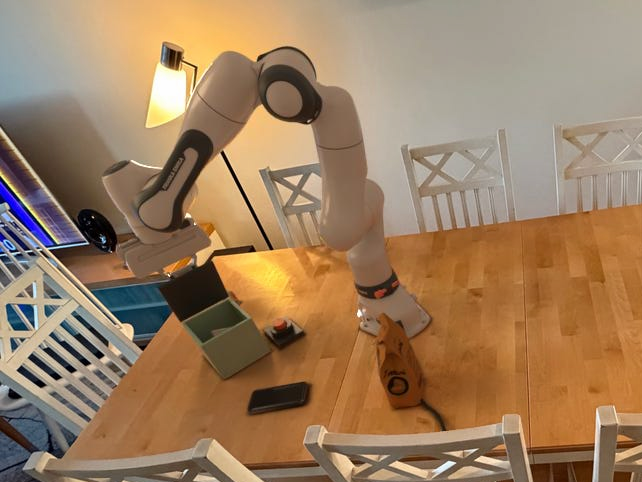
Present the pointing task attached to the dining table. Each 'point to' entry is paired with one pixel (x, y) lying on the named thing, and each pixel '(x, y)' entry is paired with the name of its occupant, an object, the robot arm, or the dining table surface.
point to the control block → (284, 333)
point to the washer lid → (193, 290)
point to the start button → (279, 324)
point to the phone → (278, 397)
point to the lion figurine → (233, 297)
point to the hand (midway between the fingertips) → (184, 274)
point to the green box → (227, 337)
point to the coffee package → (397, 365)
